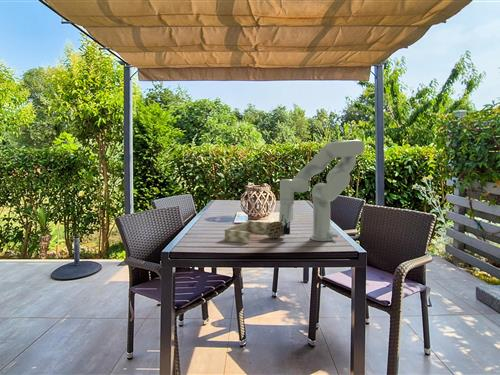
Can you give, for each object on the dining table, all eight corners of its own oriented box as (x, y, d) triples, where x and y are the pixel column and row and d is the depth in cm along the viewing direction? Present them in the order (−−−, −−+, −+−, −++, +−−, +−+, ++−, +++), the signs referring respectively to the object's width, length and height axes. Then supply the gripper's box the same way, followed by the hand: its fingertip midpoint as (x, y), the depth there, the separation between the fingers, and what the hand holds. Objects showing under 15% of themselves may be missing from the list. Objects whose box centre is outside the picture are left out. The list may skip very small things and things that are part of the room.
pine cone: (286, 235, 191) (286, 219, 190) (289, 240, 181) (289, 222, 180) (249, 237, 189) (249, 220, 188) (250, 241, 180) (250, 223, 179)
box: (270, 232, 200) (270, 222, 200) (249, 243, 176) (249, 232, 175) (248, 229, 208) (248, 220, 207) (224, 240, 183) (224, 229, 182)
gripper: (285, 199, 186) (285, 230, 188) (275, 202, 173) (275, 236, 175) (297, 200, 183) (297, 232, 185) (288, 203, 170) (288, 238, 172)
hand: (286, 234), depth 180 cm, fingers closed
